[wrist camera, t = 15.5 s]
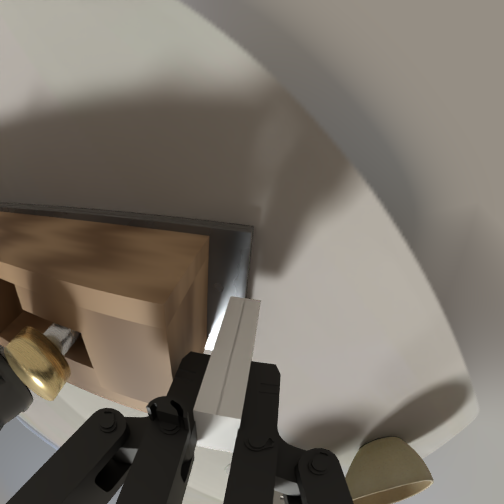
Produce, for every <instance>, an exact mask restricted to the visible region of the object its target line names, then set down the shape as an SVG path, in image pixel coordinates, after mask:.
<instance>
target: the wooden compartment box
mask: <svg viewBox="0 0 504 504" xmlns="http://www.w3.org/2000/svg"><path fill="white" fill-rule="evenodd" d="M209 237H210V236H206V235H199V234H191V233H183V232H175V231H167V230H159V229H151V228H142V227H134V226H126V225H117V224H109V223H101V222H92V221H83V220H74V219H66V218H57V217H48V216H38V215H29V214H20V213H10V212H1V211H0V345H2V346H3V347H6V346H7V345H8V344H9V343H10V342H11V341H12V340H13V338H14V337H15V336H16V335H17V334H18V333H19V332H20V331H21V330H22V329H23V328H24V327H27V326H29V327H33V328H35V329H37V330H38V331H40V332H41V333H44V332H45V331H46V330H47V329H48V328H49V327H50V326H51V325H52V324H53V323H56V324H59V325H61V326H64V327H66V328H69V329H72V330H74V331H77V332H80V333H81V335H80V336H79V338H78V339H77V340H76V341H75V342H74V344H73V345H72V346H71V347H70V349H69V350H68V351H67V352H66V354H65V355H64V357H65V359H66V361H67V362H68V364H69V367H70V370H71V376H70V377H69V379H68V380H67V382H68V383H70V384H72V385H75V386H77V387H79V388H81V389H84V390H86V391H88V392H91V393H93V394H95V395H98V396H100V397H103V398H106V399H108V400H111V401H114V402H116V403H119V404H122V405H125V406H128V407H131V408H134V409H137V410H140V411H143V412H146V413H148V412H147V409H146V406H147V405H148V403H149V402H150V401H151V400H153V399H155V398H157V397H162V396H167V393H168V391H169V388H170V386H171V384H172V381H173V379H174V378H175V374H176V372H177V370H178V367H179V365H180V363H181V360H182V358H184V357H185V356H186V355H187V354H188V353H189V352H190V351H192V352H197V353H202V354H203V352H204V349H205V346H206V343H207V293H208V261H209Z"/></svg>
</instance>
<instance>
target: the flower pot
mask: <svg viewBox="0 0 504 504" xmlns="http://www.w3.org/2000/svg"><path fill="white" fill-rule="evenodd" d="M345 480H346V483H347V485H348V488H349V491H350V494H351V497H352V500H353V503H354V504H393V503H396V502H399V501H401V500H404V499H407V498H409V497H412V496H414V495H416V494H418V493H420V492H422V491H424V490H425V489H427V488H428V487H429V486H431V485H432V484H433V478H432V476H431V473H430V471H429V470H428V468H427V466H426V464H425V463H424V461H423V460H422V458H421V457H420V456H419V455H418V454H417V453H416V451H415V450H414V449H413V448H411V447H410V446H409V445H408V444H407V443H406V442H404V441H403V440H401V439H400V438H398V437H386V438H381V439H378V440H375V441H372V442H369V443H367V444H366V445H364V446H363V447H361V448H360V449H359V451H358V452H357V454H356V456H355V458H354V459H353V461H352V463H351V466H350V468H349V470H348V472H347V475H346V477H345Z"/></svg>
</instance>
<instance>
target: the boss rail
mask: <svg viewBox="0 0 504 504" xmlns="http://www.w3.org/2000/svg"><path fill="white" fill-rule="evenodd" d="M0 211H1V212H10V213H20V214H29V215H38V216H48V217H57V218H66V219H74V220H83V221H92V222H101V223H109V224H117V225H126V226H134V227H142V228H151V229H159V230H167V231H175V232H183V233H191V234H199V235H206V236H210V237H209V261H208V293H207V343H206V346H205V349H209V350H213V348H214V344H215V341H216V338H217V335H218V332H219V329H220V326H221V323H222V320H223V317H224V314H225V311H226V308H227V305H228V302H229V299H230V296H234V297H240V298H246V292H247V283H248V273H249V264H250V254H251V245H252V236H253V226H247V225H239V224H231V223H223V222H214V221H206V220H197V219H188V218H179V217H169V216H160V215H150V214H140V213H130V212H119V211H108V210H97V209H85V208H72V207H59V206H45V205H30V204H13V203H0ZM80 335H81V333H80V332H77V331H74V330H72V329H69V328H66V327H64V326H61V325H59V324H56V323H53V324H52V325H51V326H50V327H49V328H48V329H47V330H46V331H45V332H44V333H41V332H40V331H38V330H37V329H35V328H33V327H29V326H27V327H24V328H23V329H22V330H21V331H20V332H19V333H18V334H17V335H16V336H15V337H14V338H13V340H12V341H11V342H10V343H9V344H8V345H7V346H6V347H5V348H4V354H5V357H6V359H7V361H8V363H9V365H10V367H11V368H12V370H13V371H14V372H15V374H16V375H17V376H18V377H19V378H20V380H21V381H22V382H23V383H24V384H25V385H26V386H27V387H28V388H30V389H31V390H32V391H33V392H34V393H36V394H37V395H39V396H40V397H42V398H44V399H46V400H49V401H53V400H54V399H55V398H56V396H57V395H58V393H59V392H60V390H61V389H62V387H63V386H64V385H65V383H66V382H67V380H68V379H69V377H70V376H71V370H70V367H69V364H68V362H67V361H66V359H65V357H64V355H65V354H66V352H67V351H68V350H69V349H70V347H71V346H72V345H73V344H74V342H75V341H76V340H77V339H78V338H79V336H80Z"/></svg>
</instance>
